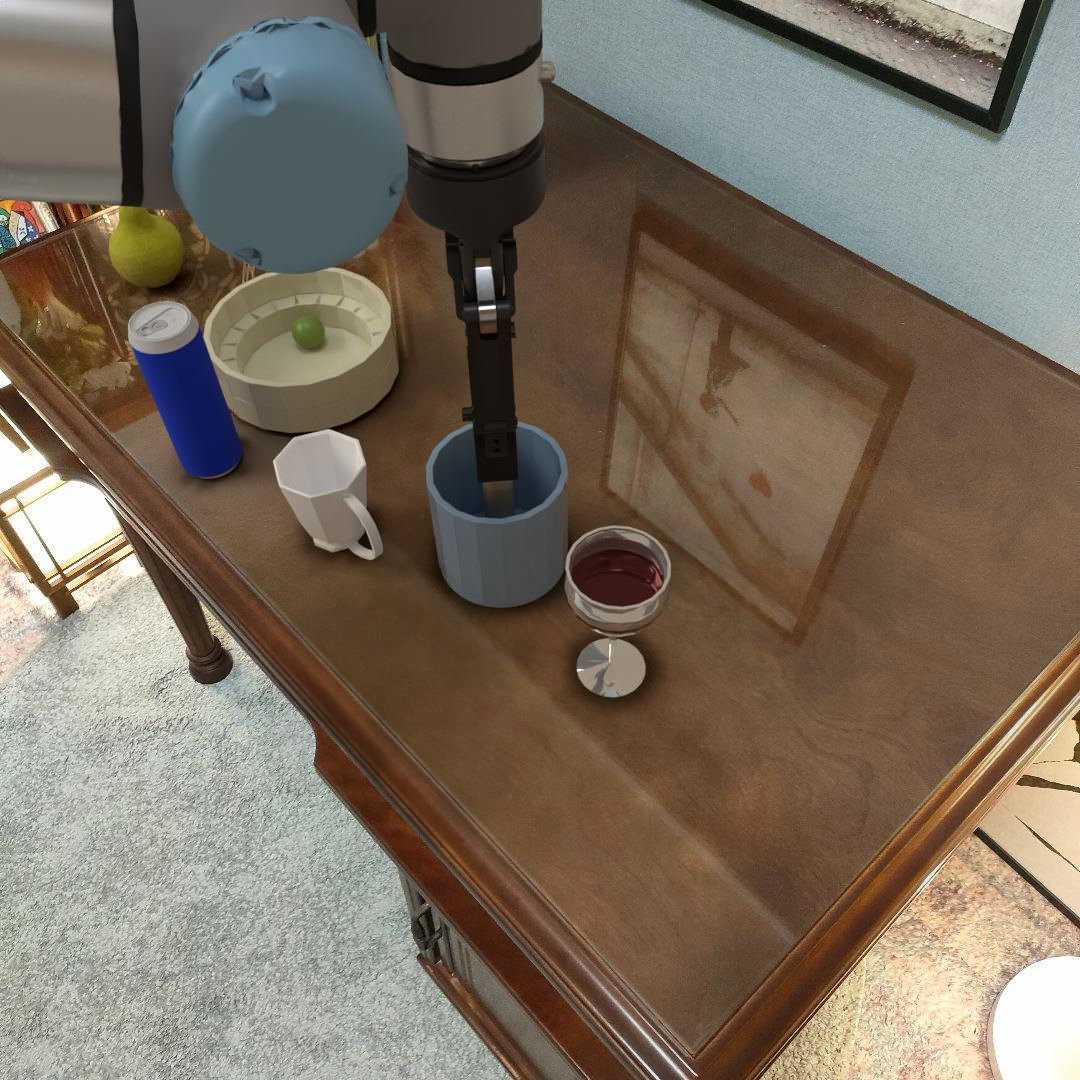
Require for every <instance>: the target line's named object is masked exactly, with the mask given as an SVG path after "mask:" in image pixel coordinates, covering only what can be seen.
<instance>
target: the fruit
mask: <svg viewBox="0 0 1080 1080" xmlns="http://www.w3.org/2000/svg"><path fill="white" fill-rule="evenodd" d="M117 214H118V223H117V226H116V227H115V228H114V230H113V232H112V234H111V236H110V238H109V240H108V253H109V254H108V255H109V258H110V259H109V260H110V261H111V264H112V266H113V268H114V269H115V270H116V272H117V273H118V274H119V275H120V276H121V277H122V278H123V279H124V280H126V281H127V282H129V283H130V284H132V285H133V286H136V287H141V288H142V287H143V288H152V289H156V288H161V287H163V286H167V285H168V284H170V283H172V282H173V281H174V280H175V279H176V277H177V276H178V275H179V273H180V271H181V269H182V266H183V261H184V252H185V251H184V243H183V239H182V235H181V233H180V231H179V230H178V229H177V227H176V226H175V225H174V224H173V223H172V222H171V221H169V220H168V219H166V218H165V217H162V216H159V215H156V214H152V213H149V212H148V211H147V208H142V207H128V206H118V209H117Z"/></svg>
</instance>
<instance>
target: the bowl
mask: <svg viewBox="0 0 1080 1080" xmlns="http://www.w3.org/2000/svg"><path fill="white" fill-rule="evenodd" d="M304 315H311V316H314V317H316V318H318V319H319V320H320V321H321V322H322V323H323V325H324V328H325V337H324V339H323V341H322V342H321V344H319V345H318V346H316V347H314V348H304V347H302V346H300V345H299V344H297V343H296V341H295V340H294V338H293V336H292V326H293V324H294V322H295V321H296V320H297V319H298V318H299V317H301V316H304ZM394 323H395V322H394V317H393V310H392V306H391V304H390V302H389V300H388V298H387V297H386V295H385V293H384V291H383V290H382V289H381V288H380V287H378V286H377V285H376V284H375V283H373V282H372V281H371V280H369V278H367V277H365V276H363V275H360V274H358V273H355V272H353V271H350V270H347V269H344V268H339V267H334V266H333V267H331V268H328V269H325V270H321V271H317V272H312V273H304V274H281V273H272V272H266V273H262V274H260V275H258V276H255V277H254V278H252V279H249V280H248V281H246V282H243V283H241V284H239V285H238V286H236V287H235V288H233V289H232V290H231V291H229V293H227V294H226V295H225V296H224V297H222V298H221V299H220V300H218V302H217V303H216V304H215V306H214V308H213V309H212V311H211V312H210V314H209V315H208V317H207V319H206V320H205V324H204V330H203V334H202V335H203V337H204V340H205V343H206V346H207V349H208V352H209V354H210V357H211V360H212V363H213V366H214V369H215V372H216V374H217V377H218V380H219V383H220V386H221V389H222V391H223V394H224V397H225V400H226V403H227V406H228V409H229V410H231V411H232V412H233V413H234V414H235V415H236V416H237V417H238V418H239V419H240V420H243V421H245V422H246V423H249V424H251V425H253V426H256V427H258V428H259V429H262V430H267V431H274V432H280V433H281V432H282V433H287V434H295V433H296V434H298V433H310V432H319V431H323V430H327V429H331V428H333V427H338V426H340V425H344V424H347V423H350V422H351V421H352V422H353V420H355V419H357V418H359V417H360V416H362V415H363V414H365V413H367V412H368V411H369V412H370V411H371V410H372V409H373V408H375V407H376V406H377V405H378V403H379V402H381V400H383V398H385V396H386V395H387V394H388V393H390V391H391V389H392V387H393V385H394V382H395V380H396V378H397V376H398V374H399V371H400V368H399V367H400V365H399V364H400V362H399V361H400V359H399V357H400V355H399V349H398V342H397V336H396V335H397V334H396V330H395V324H394Z"/></svg>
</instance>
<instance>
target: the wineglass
mask: <svg viewBox="0 0 1080 1080" xmlns="http://www.w3.org/2000/svg"><path fill="white" fill-rule="evenodd" d="M671 563H672V562H671V559H670V557H669V554H668V551H667V550H666V549H665V547H664V546H663V545H662V544H661V543H660V542H659V540H658V539H656V538H655V537H654V536H652V535H650V534H649V533H648V532H646V531H644V530H641V529H638V528H635V527H631V526H628V525H627V526H626V525H625V526H624V525H608V526H603V527H602V526H601V527H597V528H595V529H593V530H591V531H589V532H586V533H584V534H583V535H582V536H581V537H579V538H578V539H577V540H576V541H575V542H574V543H573V544H572V546H571V547H570V549H569V550H568V555H567V560H566V565H565V569H564V570H565V572H566V573H565V578H564V595H565V599H566V603H567V607H568V608H569V609H570V611H571V612H572V613H573V615H574V616H575V618H576V619H577V620H578V621H579V622H580V623H581V624H582V625H584V626H585V627H586V628H588V629H589V630H590V631H593V632H595V633H598V634H600V635H602V636H607V638H602V639H597V640H595V641H593V642H591V643H588V645H586V646H585V648H583V649H582V650H581V652H580V654H579V656H578V658H577V661H576V672H577V677H578V679H579V680H580V681H581V683H582V685H583V686H584V687H585V688H586V689H587V690H589V691H590V692H591V693H594V694H596V695H599V696H601V697H604V698H605V697H606V698H619V697H625V696H626V695H628V694H631V693H632V692H634V691H636V690H637V689H638V687H639V686H640V685H642V683H643V680H644V679H645V676H646V667H647V666H646V663H645V659H644V656H643V655H642V653H641V652H640V650H639V649H638V648H637V647H636V646H634V645H633V644H631V643H630V642H628V641H626V640H623V639H620V638H622V637H626V636H632V635H636V634H638V633H640V632H642V631H644V630H646V629H648V628H649V627H650V626H651V625H652V624H653V623H654V622H655V621H656V620H657V619H658V618H659V617H660V616H661V614H662V612H663V611H664V608H665V607H666V604H667V602H668V599H669V596H670V579H671V576H672V575H671V571H672V564H671Z"/></svg>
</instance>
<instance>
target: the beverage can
mask: <svg viewBox="0 0 1080 1080" xmlns="http://www.w3.org/2000/svg"><path fill="white" fill-rule="evenodd" d="M203 335H204V334H203V332H202V329H201V325H200V323H199V321H198V318H197V317H196V316H195V315H194V313H192V311H191V310H190V309H189V308H188V307H187V306H186V305H184V304H182V303H181V302H176V301H171V300H170V301H169V300H167V301H164V300H163V301H155V302H153V303H152V302H151V303H150V304H147V305H145V306H143V307H140V308H139V309H137V310H136V311H135V312H134V313H133V314H132V315H131V317H130V318H129V321H128V323H127V337H128V339H127V340H128V343H129V345H130V348H131V350H132V352H133V354H134V356H135V359H136V361H137V363H138V366H139V369H140V371H141V374H142V375H143V378H144V380H145V383H146V385H147V387H148V390H149V392H150V394H151V397H152V399H153V401H154V404H155V406H156V408H157V411H158V414H159V416H160V418H161V420H162V423H163V425H164V428H165V430H166V432H167V434H168V437H169V439H170V442H171V444H172V446H173V448H174V450H175V453H176V456H177V457H178V460H179V462H180V464H181V466H182V469H183V470H184V471H185V472H186V473H188V474H189V475H191V476H194V477H196V478H199V479H206V480H209V479H210V480H211V479H217V478H221V477H223V476H225V475H228V474H229V473H230V472H232V471H233V470H234V469H235V468H236V467H237V465H238V464H239V462H240V460H241V458H242V455H243V446H242V443H241V440H240V437H239V435H238V431H237V428H236V426H235V422H234V420H233V418H232V417H233V416H232V415H231V411H230V408H229V407H228V406H227V403H226V400H225V397H224V394H223V391H222V389H221V386H220V383H219V380H218V377H217V374H216V372H215V369H214V366H213V363H212V360H211V357H210V354H209V352H208V349H207V346H206V343H205V340H204V337H203Z"/></svg>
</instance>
